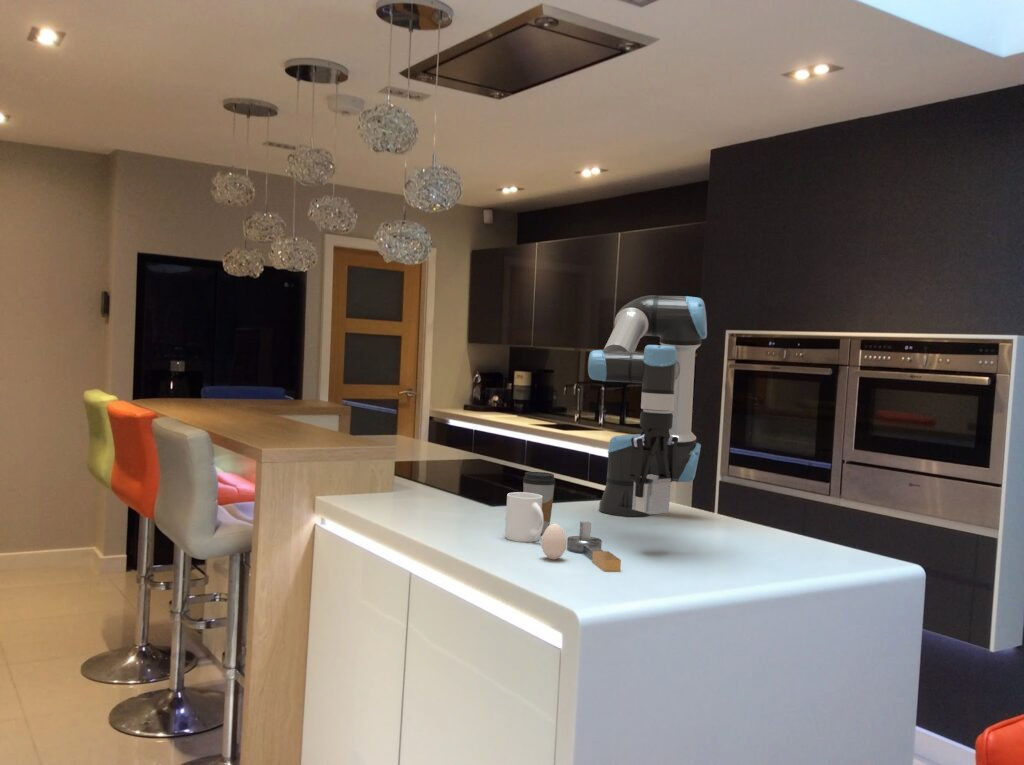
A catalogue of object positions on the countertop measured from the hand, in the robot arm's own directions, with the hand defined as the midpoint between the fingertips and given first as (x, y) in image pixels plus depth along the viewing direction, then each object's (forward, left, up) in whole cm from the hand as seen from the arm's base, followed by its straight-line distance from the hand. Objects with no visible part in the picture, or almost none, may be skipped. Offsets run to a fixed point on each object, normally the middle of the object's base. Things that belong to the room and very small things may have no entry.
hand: (650, 509), depth 200 cm
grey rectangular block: (0, 0, 0) cm, 0 cm away
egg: (+25, -5, -10) cm, 28 cm away
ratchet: (+16, -2, -10) cm, 19 cm away
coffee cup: (+10, -29, -10) cm, 32 cm away
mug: (+18, -23, -10) cm, 31 cm away
